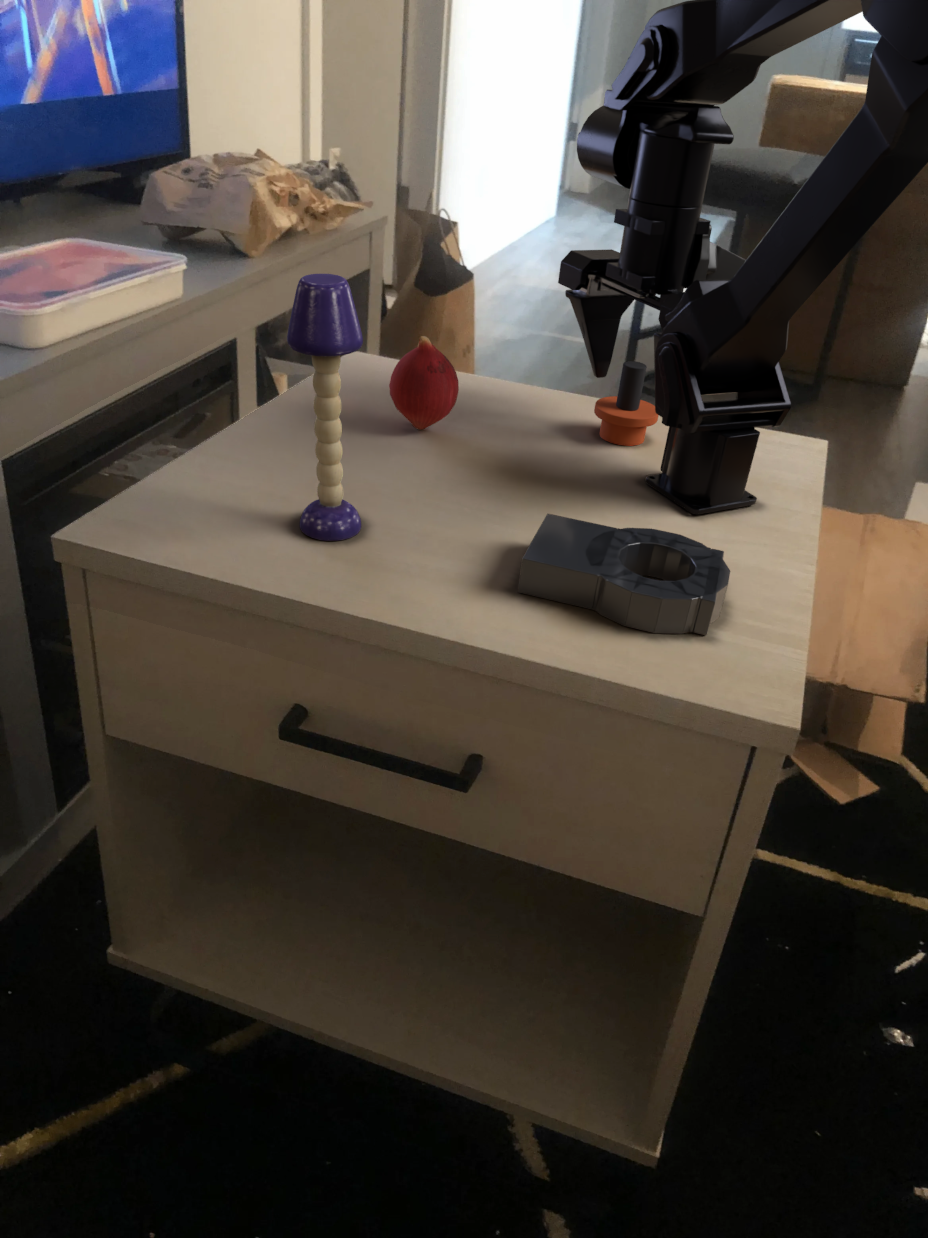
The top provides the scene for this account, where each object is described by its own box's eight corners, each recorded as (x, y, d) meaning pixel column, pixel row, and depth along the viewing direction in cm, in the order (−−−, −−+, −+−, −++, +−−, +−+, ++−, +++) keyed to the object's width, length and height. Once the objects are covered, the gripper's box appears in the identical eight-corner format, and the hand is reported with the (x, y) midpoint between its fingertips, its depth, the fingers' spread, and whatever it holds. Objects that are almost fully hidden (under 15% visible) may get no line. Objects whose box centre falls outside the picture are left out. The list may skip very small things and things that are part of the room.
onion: (458, 421, 85) (465, 331, 80) (450, 445, 80) (458, 350, 76) (393, 413, 85) (397, 323, 81) (382, 437, 80) (386, 342, 76)
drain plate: (725, 577, 64) (734, 545, 63) (714, 647, 57) (724, 612, 55) (545, 538, 67) (550, 506, 66) (512, 600, 59) (517, 565, 58)
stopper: (665, 445, 84) (681, 372, 80) (614, 452, 82) (627, 377, 78) (628, 422, 88) (641, 352, 84) (578, 428, 86) (589, 356, 82)
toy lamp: (313, 549, 63) (313, 291, 54) (277, 521, 66) (271, 271, 57) (373, 532, 66) (382, 283, 57) (336, 506, 68) (339, 265, 59)
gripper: (827, 224, 71) (773, 423, 79) (672, 181, 84) (640, 355, 93) (713, 226, 66) (668, 437, 74) (567, 180, 80) (543, 363, 88)
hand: (630, 394), depth 83 cm, fingers open, 9 cm apart
